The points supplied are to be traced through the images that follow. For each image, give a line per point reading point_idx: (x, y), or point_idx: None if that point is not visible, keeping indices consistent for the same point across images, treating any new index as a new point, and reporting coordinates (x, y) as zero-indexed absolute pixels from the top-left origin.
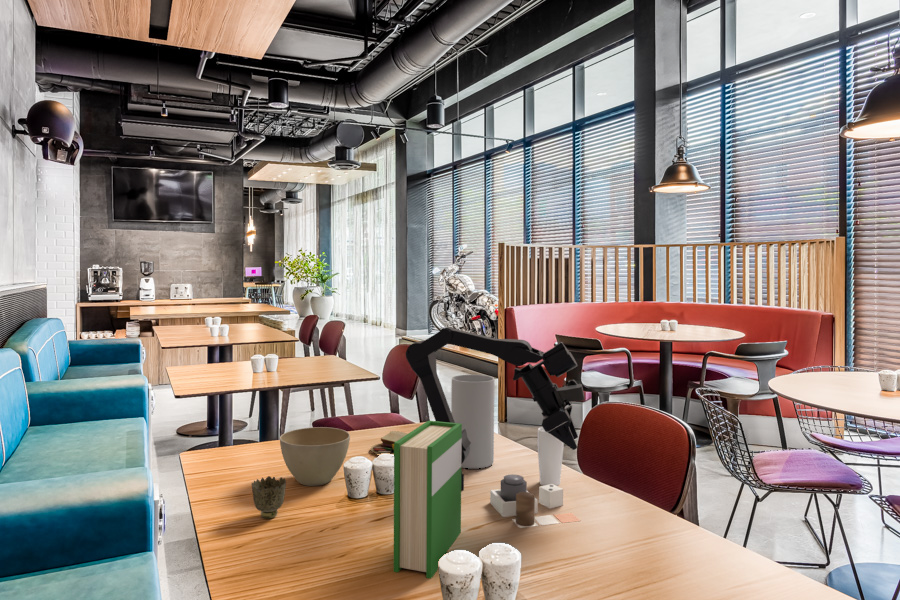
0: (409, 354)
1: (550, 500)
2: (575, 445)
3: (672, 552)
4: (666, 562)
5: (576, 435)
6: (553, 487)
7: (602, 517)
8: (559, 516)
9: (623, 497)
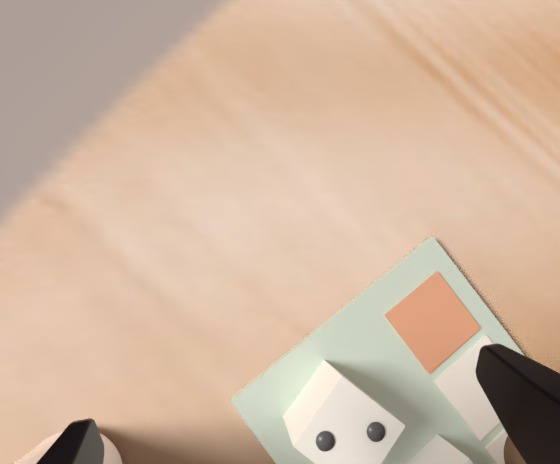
0: None
1: (387, 410)
2: (525, 363)
3: (490, 11)
4: (551, 29)
5: (86, 442)
6: (341, 426)
7: (335, 210)
8: (435, 349)
9: (106, 152)
